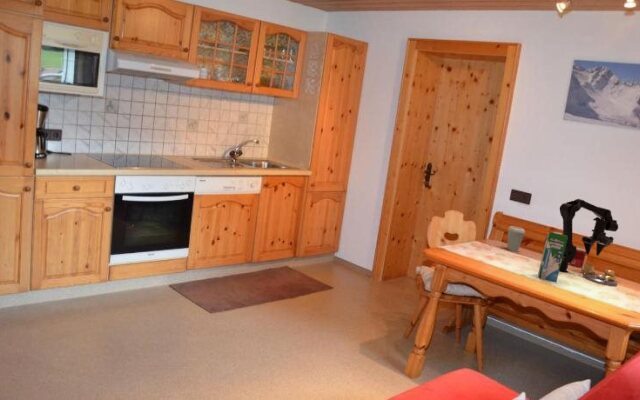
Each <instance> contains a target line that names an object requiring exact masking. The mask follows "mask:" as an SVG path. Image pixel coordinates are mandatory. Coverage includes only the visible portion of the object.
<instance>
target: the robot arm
mask: <svg viewBox="0 0 640 400" xmlns="http://www.w3.org/2000/svg"><path fill="white" fill-rule="evenodd" d="M581 209H585V210H587V211H589V212H591V213H593V215H595V216H596V217H594V218H593V219H592V220H593V221H595V223H594V227H593V229H591V232H592V235H590V236H583V237H582V238H581V242H582V243H583V245H584V249H585V250H586V254H585V255H588V256H589V255H590V253H591V249H592V247H593V246H595V244H596V256H599V255H600V254H601V252H602V251H603V250H604V249H605V248H607V247H608V246H611V244H613V243H614V239H615V238H614V237H613V236H607V233H606V232H605V231H607V232H617V231H618V230H619V224H618V223H617V222H618V221H617V220H616V219H613V216H612V211H611V210H610V209H607V208H604V207H601V206H597V205H594V204H593V203H589V202H588V201H585V200H584V199H580V198H577V199H574V200H571V201H567V202H565V203H561V205H560V206H559V214H560V216H561V218H562V235H566V236H568V239H567V243H566V247H565V251H564V255H563V258H562V262H561V266H560V270H559V272H561V273H569V270H568V268H569V262H572V260H573V259H574V257H575V256H576V253H577V252H576V249H577V248H578V247H577V246H576V245H574V243H573V219H574V218H575V217H576V213H577V212H579V211H580V210H581ZM576 247H577V248H576Z"/></svg>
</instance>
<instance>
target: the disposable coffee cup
mask: <svg viewBox="0 0 640 400" xmlns="http://www.w3.org/2000/svg"><path fill="white" fill-rule="evenodd" d="M507 231H508V232H507V244H506V247H507V250H508V251H511V252H518V251H519V249H520V246H521V243H522V241H523V238H524V235H525V233H526V231H525V229H524V228H522V227H520V226H514V225H510V226H509V227H508V228H507Z"/></svg>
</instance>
